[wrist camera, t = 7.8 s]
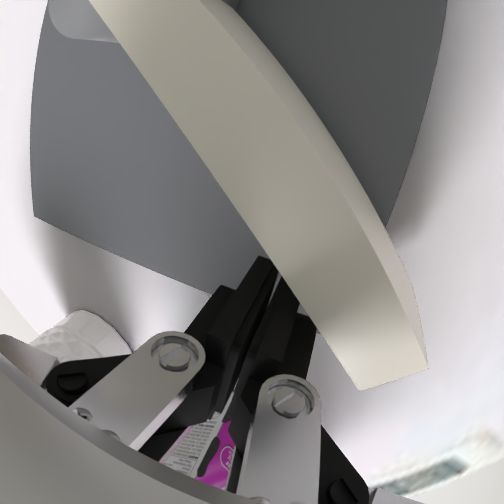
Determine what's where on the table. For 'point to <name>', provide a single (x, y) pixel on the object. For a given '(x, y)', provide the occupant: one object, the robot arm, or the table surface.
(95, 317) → the white cup
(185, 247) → the tuner board
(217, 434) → the candy bar box
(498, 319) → the table surface
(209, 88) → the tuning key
